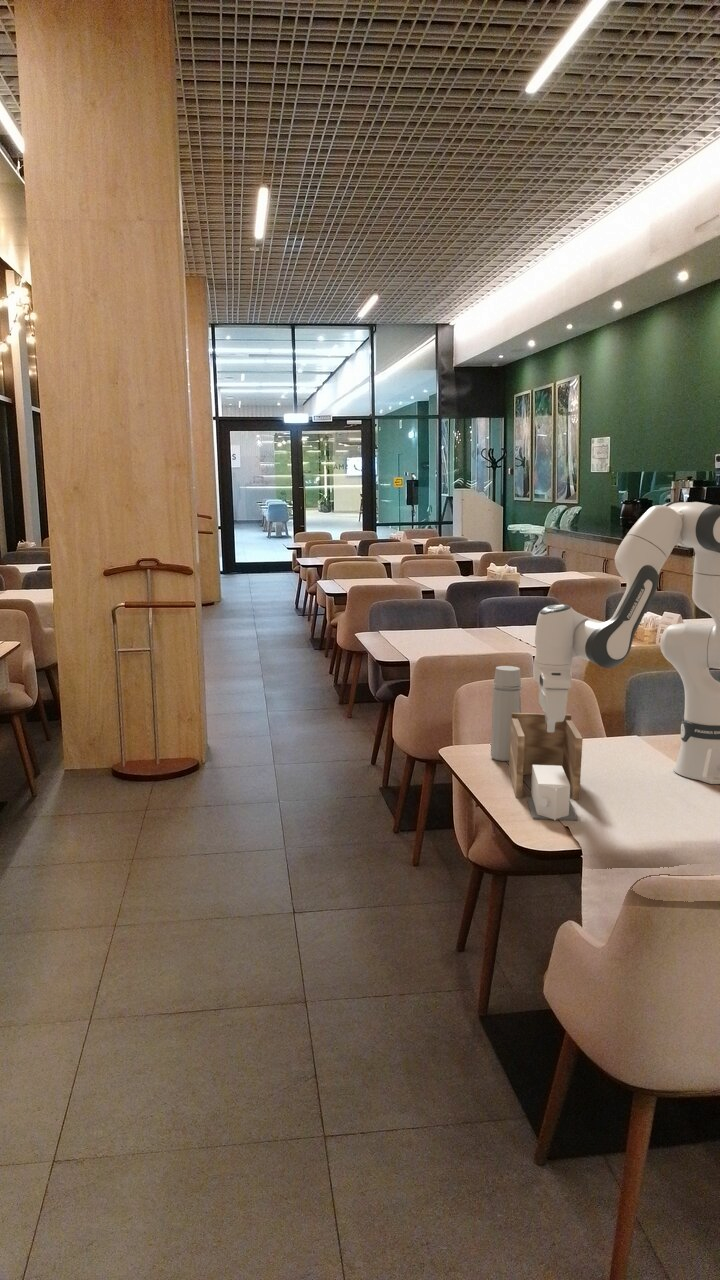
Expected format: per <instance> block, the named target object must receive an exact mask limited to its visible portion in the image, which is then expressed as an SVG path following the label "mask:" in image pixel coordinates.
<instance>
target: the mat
mask: <svg viewBox="0 0 720 1280" xmlns="http://www.w3.org/2000/svg"><path fill="white" fill-rule="evenodd" d="M525 797H526V801H527V804H528V807H529V808H528V809H529V811H530V814H531V817H532V819H533V820H550V821H551V820H552V821H553V820H554V819H551V818H548V817H545V816H541V815H538V814H537V812H536V808H535V805H534V801H533V798H532V796H525ZM556 820H558V821H579V818H578V816H577V813H576V810H575V807H574V806H573V804H572V802H571V800H570V801H569V815H568V816H565V817H561V818H558V819H556ZM556 820H555V821H556Z"/></svg>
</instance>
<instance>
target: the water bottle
mask: <svg viewBox="0 0 720 1280" xmlns="http://www.w3.org/2000/svg"><path fill="white" fill-rule="evenodd" d="M521 679H522V678H521V668H520V667H518V666H512V665H500V666H496V667H495V671H494V678H493V682H492V686H493V688H492V709H491V711H492V713H491V717H492V718H491V736H490V737H491V739H490V757H491V758H492V759H493V760H496V761H499V762H509V758H510V734H511V713H522V702H521V701H522V700H521V690H522V689H523V686H522V682H521V681H522V680H521Z"/></svg>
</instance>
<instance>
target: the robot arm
mask: <svg viewBox="0 0 720 1280" xmlns="http://www.w3.org/2000/svg"><path fill="white" fill-rule="evenodd" d="M675 546H679V547H684V548H687V549H693V551H694V553H695V554H694V561H693V573H692V577H693V578H692V587H691V588H692V591H691V597H692V602H693V603H694V605H695V606H696V607H697V608H698V609H699V610H701V611H702V612H705V613H706V614H708V615H710V617H711V618H712V619H713V621H714V624H707V623H706V624H705V623H693V622H683V623H681V622H680V623H673V624H670V625H668V626H667V627H666V628H665V629H664V631H663V632H662V634H661V637H660V641H659V647H660V652H661V653H662V656H663V657H664V659H665V660H667V662H668V663H670V664H671V665H672V666H673V668H674V669H675V670H676V671H677V673H678V674H679V676H680V678H681V681H682V684H683V688H684V714H683V715H684V716H683V717H682V720H681V725H680V739H681V741H680V742H681V743H680V746H679V752H678V755H677V758H676V763H675V765H674V768H673V771H674V772H675V773H676V774H678V775H680V776H682V777H685V778H688V779H692V780H698V781H701V782H704V783H706V784H711V785H720V681H718V680H716V679H715V678H714V677H713V676H712V674H711V672H710V669H717V670H718V669H719V670H720V505H719V504H710V503H706V502H701V501H700V502H699V501H692V502H691V501H690V502H688V501H685V502H684V501H677V500H676V501H670V502H666V503H664V504H662V505H661V504H659V505H657V504H656V505H653V506H651V507H649V508H648V509H647V510H646V511H645V512H644V513H642V515H641V516H640V517H639V518H638V519H637V521H636V522H635V523H634V525H632V527H631V528H630V529H629V531H628V532H627V534H626V535H625V536H624V537H623V540H621V543H620V544H619V546H618V548H617V549H616V553H615V555H614V565H615V568H616V571H617V572H618V574H619V575H620V576H621V577H622V578H623V579H624V581H625V582H626V588H625V591H624V594H623V595H622V597H621V599H620V601H619V603H618V605H617V608H616V609H615V611H614V613H613V615H612V616H611V617H610V618H609V619H608V620H606V621H601V620H598V619H594V618H591V617H589V616H586V615H584V614H581V613H580V612H577V611H576V610H574V609H573V607H572V606H571V605H567V604H551V605H547V606H545V607H543V608H542V609H540V611H539V612H538V615H537V620H536V625H535V635H534V636H535V637H534V645H535V656H534V660H533V678H532V679H533V681H534V682H535V683H538V702H539V704H540V706H541V709H542V710H543V713H544V714H545V721H546V725H545V728H546V730H547V732H554V731H555V723H556V722H563V721H564V718H565V714H567V708H568V707H567V705H568V698H569V690H570V689H572V679H573V678H572V675H573V659H574V658H576V657H578V658H581V659H583V660H586V661H589V662H591V663H593V664H595V665H597V666H599V667H600V668H601V667H602V668H605V669H611V668H615V667H617V666H619V665H620V664H622V663H624V661H625V660H626V659H627V657H628V656H629V654H630V651H631V649H632V645H633V641H634V638H635V635H636V632H637V630H638V627H640V625H641V622H642V621H643V618H644V616H645V613H646V612H647V610H648V609H649V606H650V604H651V603H652V601H653V598H654V597H655V596H654V595H655V594H656V591H657V589H658V586H659V582H660V572H661V571H662V568H663V566H664V564H665V563H666V562H667V560H668V558H669V557H670V555H671V553H672V551H673V549H674V547H675Z"/></svg>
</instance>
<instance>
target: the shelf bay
mask: <svg viewBox="0 0 720 1280" xmlns="http://www.w3.org/2000/svg"><path fill="white" fill-rule="evenodd" d="M545 725H546V721H545V713H544V712H543V713H542V712H541V713H540V712H539V713H538V712H537V713H535V712H521V713H511V734H510V758H509V761H508V763H509V764H508V775H509V778H510V782H511V785H512V789H513V793H514V796H515V798H523V785H524V783H523V781H524V775H523V774H532V765H555V766H562V767H563V770H564V772H565V774H566V777H567V779H568V781H569V784H570V793H571V794H570V797H571V798H572V800H580V793H581V792H580V790H581V776H582V775H581V772H582V760H583V759H582V758H583V757H582V755H583V737H582V735H581V733H580V731H579V730H578V728H577V726H576V725H575V723H574V722H573V720H572V714H571V713H566V714H565V718H564V721H563V722H556V723H555V731H554V732H547V730H546V728H545Z"/></svg>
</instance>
